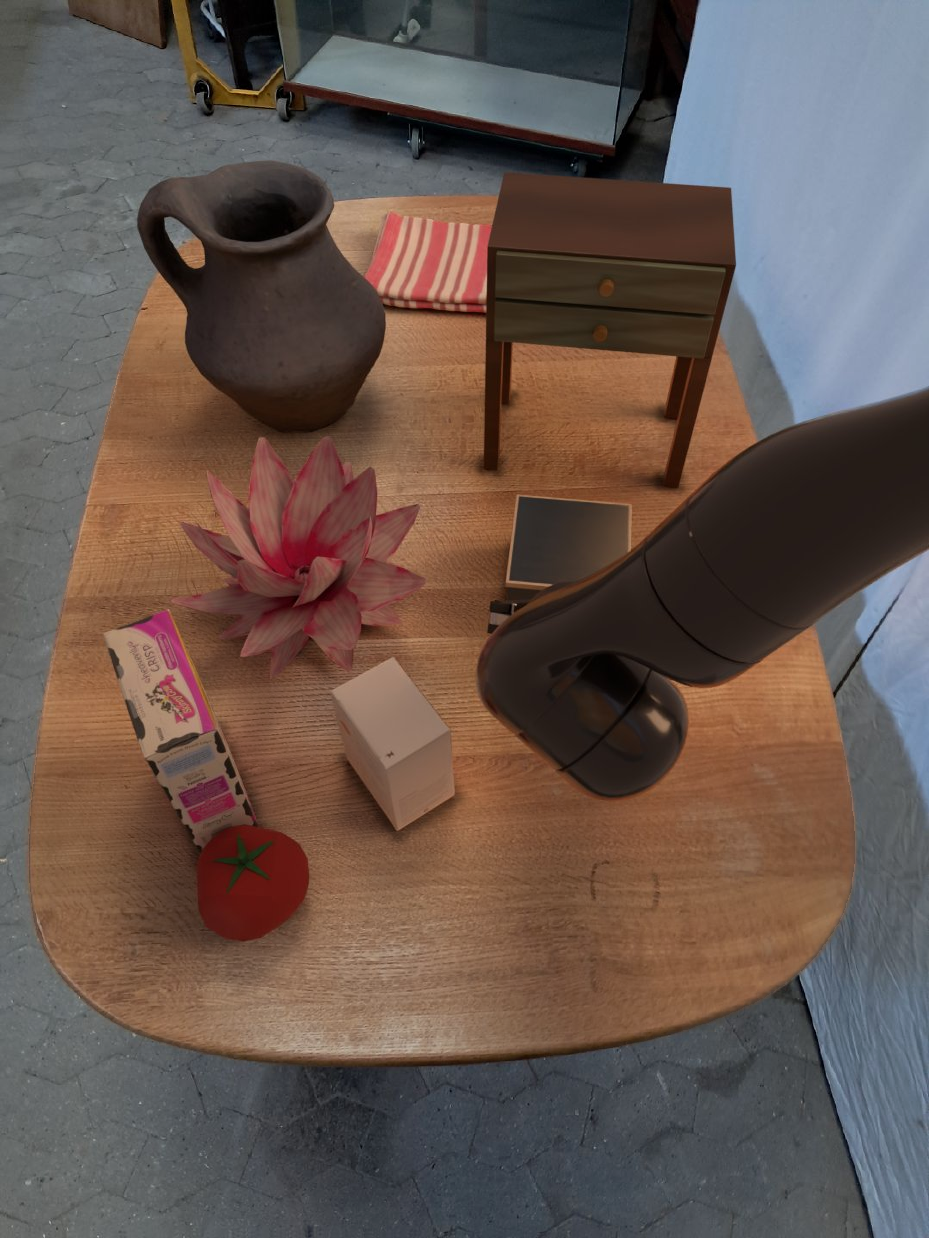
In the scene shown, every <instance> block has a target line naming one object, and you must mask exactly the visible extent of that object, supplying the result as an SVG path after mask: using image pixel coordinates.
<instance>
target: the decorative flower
mask: <svg viewBox="0 0 929 1238" xmlns="http://www.w3.org/2000/svg"><path fill="white" fill-rule="evenodd" d="M206 478H207V482H208V488H209V492H210V497H211V499H212V501H213V504H214V506H215V508H216V511H217V514H218V516H219V519H220V520H221V523H222V525H223V527H224V530H225V531H226V534H227V535H224V534H221V533H217V532H214V531H211V530H209V529H206V528H203V527H202V526H201V525H200V524H199V523H198V522H197V521H195V523H196V525H194V524H190V523H188V522H186V521H182V522H180V523H179V526H180V528H181V529H182V530H183V531H184V533H185V534H186V536H187V537H188V538H189V540H190V542H192V544H193V546H194V547H195V548H196V549H197V550H198V551H199V552H201V554H203V555H204V556H205V557H206V558H207V559H208V560H209V561H210V562H211V563H213V564H214V565H215V567H217V568H218V569H219V570H220V571H222V572H223V573H225V574H227V575H229V577H223V579H222V581H223V582H224V583H226V584H227V585H228V586H224V587H221V588H217V589H213V590H209V591H205V592H203V593H202V592H201V593H199V594H194V595H188V596H187V595H186V596H181V597H176V598H171V599H170V602H171V603H172V604H175V605H178V606H181V607H184V608H187V609H189V610H193V611H197V612H205V613H214V614H224V615H226V614H227V615H236V616H241V617H239V618H238V619H237V620H236V621H235V622H234V623H233V624H231V625H230V626H229V627H228V628H227V629H225V630H224V631H223V632H222V633H220V635H218V636H217V637H218V638H219V640H220V639H221V640H222V639H231V638H241V637H244V636H247V637H246V639H245V641H244V644H243V647H242V649H241V651H240V655H239V657H241V658H244V657H252V656H257V655H261V654H264V653H265V652H268V651H270V666H269V667H270V668H269V680H270V679H272V678H274V677H276V676H277V675H279V674H281V673H282V672H283V671H284V670H285V669H286V668H287V667H288V665H289V664H290V663H291V662H292V661H293V660H294V658H295V657H296V656H297V655H298V654H299V652H301V650H302V649H303V648H304V647H305V645H307V643H308V642H309V639H310V638H311V639H312V640H313V641H314V642H315V643H316V645H317V646H318V647H319V649H321V650H322V651H323V653H324V654H325V655H326V656H327V657H328V658H329V659H330V660H331V661H333V662H334V663H335V664H336V665H338V666H339V667H340V668H342V669H343V670H345V671H346V672H347V673H350V672H351V671H353V664H354V653H355V652H354V648H355V647H357V643H358V641H359V638H360V636H361V630H362V625H368V626H374V627H377V626H378V627H379V626H395V625H403V624H404V623H403V622H402V620H401V619H400V617H399V616H398V614H397V613H396V612H395V610H393V609H392V608H391V607H390V606H389V605H391V604H394V603H397V602H399V601H402V600H404V599H406V598H407V597H409V596H410V595H412V594H414V593H416V592H418V591H419V590H421V589H422V588H423V587H424V586H425V585H426V584H427V578H425V577H424V576H421V575H419V574H417V573H415V572H413V571H411V570H409V569H408V568H407V569H406V568H405V567H402V566H400V565H399V564H397V563H394V562H391V561H388V560H390V558H392V556H393V555H394V554H395V553H396V552H397V550H398V548H400V546H401V544H402V542H403V541H404V539H405V538H406V536H407V535H408V533H409V532H410V531H411V528H412V527H413V525H414V524H415V522H416V519H417V517H418V514H419V512H420V510H421V506H420V504H419V503H416V504H412V505H407V506H403V507H399V508H396V509H393V510H389V511H386V512H382V513H379V514H377V510H378V509H377V508H378V507H377V506H378V505H377V504H378V486H377V478H376V470H375V469H374V468H373V467H372V466H369V467H367V468H366V469H365V470H364V471H362V472H361V473H360V474H359V475H357V476H355V478H354V471H353V464H352V463H351V462H349V461H348V460H346V461H345V462H344V463H343V464H342V460H341V459H340V456H339V454H338V451H337V448H336V446H335V444H334V440H333V439H332V436H331V435H329V436H328V435H327V436H326V435H323V437H322V438H321V439H320V441H319V442H318V443H317V444H316V446H315V447H314V449H313V450H312V451H311V453H310V454H309V455H308V458H307V459H306V461H305V463H304V464H303V465H302V468H301V470H299V472H298V474H297V476H296V478H295V480H294V479H293V476H292V475H291V473H290V471H289V469H288V468H287V467H286V465H285V464H284V462H283V460H282V459H281V458H280V457H279V455H278V454H277V452H276V451H275V450H274V448H273V446H272V445H271V444H270V443H269V441H268V439H267V438H266V437H265V436H262V437H258V440H257V443H256V446H255V450H254V454H253V457H252V461H251V471H250V478H249V483H248V487H249V488H248V507H247V506H246V505H245V504H244V503H243V502H241V501H240V499H238V498H237V497H236V496H235V495H234V494H233V493H232V492H231V491H230V490H229V489H228V488H227V487H226V486H225V485H224V484H223V483H222V481H220V480H219V479H218V478H217V477H216V476H215V475H214V474H212V473H211V472H210V471H209V470H206Z"/></svg>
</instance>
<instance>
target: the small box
mask: <svg viewBox="0 0 929 1238" xmlns="http://www.w3.org/2000/svg"><path fill="white" fill-rule="evenodd" d="M329 694H330V698H331V702H332V706H333V710H334V715H335V718H336V722H337V725H338V730H339V733H340V737H341V741H342V746H343V750H344V752H345V758H346V760H347V761H348V763H349V764H350V765H351V767H352V768H353V770H354V771H355V773H356V774H357V775H358V777H359V778H360V780H361V781H362V783H363V784H364V785H365V787H366V789H367V791H369V793H370V795H371V796H372V797H373V799H374V800H375V801H376V803H377V804H378V806H379V807H380V808H381V810H382V811H383V813H384V815H385V816H386V818H387V819H388V820H389V823H391V825H392V827H393V828H394V830H395V831H397V832H399V831H400V830H401V829H403V828H405V827H406V826H408V825H409V824H411V823H414V821H416V820H417V819H419V818H421V817H422V816H424V815H426V814H427V813H428V812H430V811H432V810H433V809H435V808H436V807H438V806H440V805H442V804H443V803H444V802H446V801H448V800H449V799H451V798H452V797H454V796H455V794H456V791H455V790H456V789H455V775H454V774H455V773H454V759H453V743H452V729H451V728H450V726H449V725H448V724H447V722H446V721H445V720H444V719H443V717H442V715H440V714H439V712H438V711H437V710H436V709H435V708H434V706H433V704H432V703H431V702H430V701H429V699H428V698H427V697H426V696H425V694H424V693H423V692H422V690H420V688H419V687H418V686H417V684H416V683H415V682H414V681H413V679H412V677H410V675H409V674H408V673H407V671H405V669H404V668H403V667H402V666H401V664H400V663H399V662H398V660H397V658H396V657H394V656H392V657H390V658H388V659H386V660H385V661H383V662H381V663H379V664H377V665H375V666H374V667H372V668H370V669H368V670H366V671H365V672H363V673H360V674H358V675H357V676H355V677H353V678H351V679H349V680H347V681H346V682H344V683H342V684H340V685H338V686H337V687H335V688H332V689H331V690H330V692H329Z"/></svg>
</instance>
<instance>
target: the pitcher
mask: <svg viewBox="0 0 929 1238" xmlns="http://www.w3.org/2000/svg"><path fill="white" fill-rule="evenodd" d="M334 209H335V201H334V197H333V194H332V191H331V189H330V188H329V187H328V185H327V183H326V181H324V180H323V178H321V177H320V175H317V173H314V172H312V171H311V170H308V169H306V168H305V167H301V166H299V165H296V164H292V163H288V162H282V161H277V160H257V161H256V160H255V161H245V162H239V163H233V164H226V165H223V166H220V167H218V168H216V169H215V170H213V171H212V172H210V173H207V174H201V175H196V176H178V177H177V176H175V177H169V178H166V179H163V180H161V181H159V182H158V183H156V184H155V185H153V186H152V187H151V188H149V189H148V191H147V192H146V193H145V196H144V198H143V199H142V200H141V203H140V205H139V208H138V212H137V219H136V225H137V226H136V228H137V231H138V234H139V237H140V240H141V243H142V247H143V249H144V250H145V253H146V255H147V256H148V258H149V260H150V262H151V263H152V265H153V266H154V267H155V269H156V270H157V272H158V273H159V274H160V276H161V278H163V280H164V281H165V282H166V283H167V284H168V286H169V287H170V288H171V289H172V290H173V292H174V293H175V294H176V296H177V297H178V299H179V300H180V302H181V303H182V304H183V306H184V307H185V310H186V323H185V329H184V345H185V348H186V352H187V354H188V356H189V358H190V360H191V362H192V363H193V365H194V367H195V368H196V369H197V371H198V372H199V373H200V375H202V377H203V378H204V379H205V380H207V382H209V383H210V384H211V385H212V386H213V387H215V389H217V390H218V391H220V393H222V394H224V395H225V396H226V397H228V398H229V399H231V400H232V401H234V402H235V403H236V405H238V406H239V407H240V409H241V410H242V411H244V412H245V413H246V414H247V415H249V416H250V417H252V418H253V419H255V420H256V421H258V422H259V423H261V424H263V425H264V426H266V427H268V428H270V429H273V430H275V431H277V432H278V433H283V434H285V433H313V432H316V431H318V430H322V429H325V428H327V427H331V426H332V425H333V424H334V423H336V422H338V421H340V419H341V418H342V417H344V416H345V415H346V414H347V412H348V411H349V409H350V408H351V407H352V406H353V405H354V403H355V401H356V399H357V396H358V394H359V393H360V391H361V390H362V388H363V385H364V384H365V382H366V379H367V378H368V375H369V374H370V373H371V371H372V369H373V368H374V366H375V364H376V362H377V360H378V359H379V357H380V355H381V352H382V349H383V346H384V343H385V337H386V336H385V335H386V331H387V330H386V329H387V322H386V320H387V319H386V318H387V317H386V316H387V315H386V311H385V308H384V305H383V304H384V303H382V301H381V299H380V297H379V295H378V292H377V291H376V290H375V288H374V287H373V285H372V284H371V283H370V282H369V281H368V280H367V279H366V278H365V277H364V275H362V273H360V271H358V269H356V268H355V267H354V266H353V265H352V264H351V262H350V261H349V260H348V259H347V258H346V257H345V256H344V254H343V253H342V251H341V250H340V249H339V248H338V245H337V244H336V242H335V240H334V239H333V236H332V235H331V232H330V230H329V227H328V222H329V220H330V217H331V215H332V214H333V211H334ZM166 218H173V219H175V220H176V221H178V222H179V223H181V225H183V226H184V227H186V229H188V230H189V231H190V232H191V233H192V234H193V235H194V236H195V237H196V238H197V239H198V241H200V243H201V246H202V248H203V253H204V265H202V266H201V267H195V268H194V267H192V266H189V265H188V264H187V262H186V261H185V260H184V259H183V257H182V256H181V254H180V252H179V251H178V249H177V248H176V247H175V244H174V242H173V241H172V240H171V238H170V236H169V234H168V232H167V230H166V223H165V222H166V221H165V219H166Z"/></svg>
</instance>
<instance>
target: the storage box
mask: <svg viewBox="0 0 929 1238" xmlns="http://www.w3.org/2000/svg"><path fill="white" fill-rule="evenodd" d="M632 507H633V505H632V504H631V503H624V502H612V501H600V500H589V499H588V500H587V499H577V498H566V497H565V498H564V497H553V496H552V497H551V496H541V495H530V494H529V495H528V494H518V493H517V494H516V495H515V501H514V511H513V517H512V518H513V519H512V526H511V534H510V542H509V551H508V559H507V565H506V566H507V568H506V574H505V575H506V576H505V582H504V583H505V588H507V593H506V600H529V599H532V598H533V597H534V596H535V595H536V594H537V593H539V592H540V591H542V590H543V589H545V588H547V587H549V586H551V585H554V584H557V583H562V582H576V581H578V580H581V579H583V578H585V577H587V576H589V575H591V574H593V573H595V572H597V571H599V570H600V569H602V568H604V567H606V566H608V565H609V564H611V563H612V562H614V561H616V560H617V559H619V558H620V557H622V556H624V555H625V554H626V553H628V552H629V551H630V550H632V517H633V516H632V515H633V513H632V512H633V511H632V510H633V508H632Z"/></svg>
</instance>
